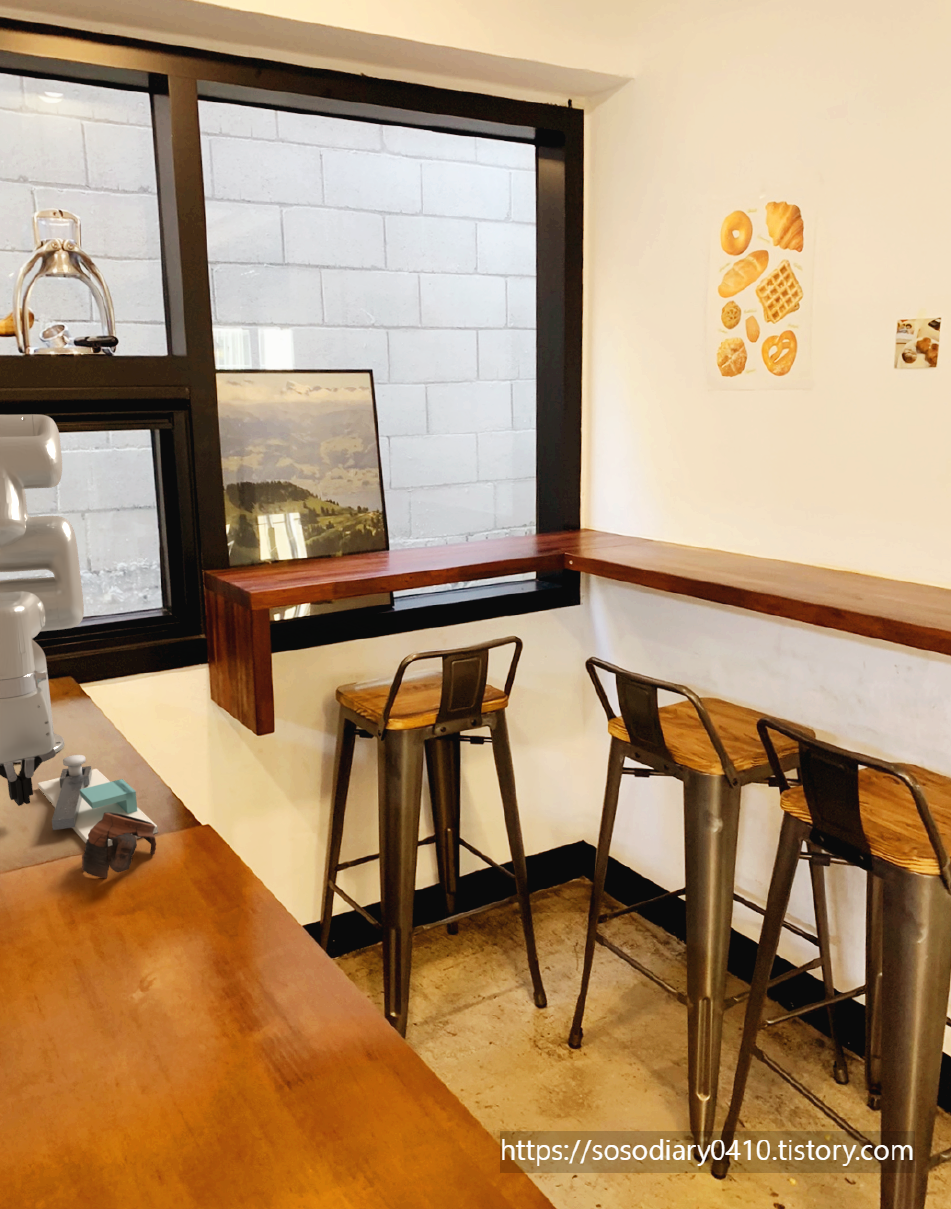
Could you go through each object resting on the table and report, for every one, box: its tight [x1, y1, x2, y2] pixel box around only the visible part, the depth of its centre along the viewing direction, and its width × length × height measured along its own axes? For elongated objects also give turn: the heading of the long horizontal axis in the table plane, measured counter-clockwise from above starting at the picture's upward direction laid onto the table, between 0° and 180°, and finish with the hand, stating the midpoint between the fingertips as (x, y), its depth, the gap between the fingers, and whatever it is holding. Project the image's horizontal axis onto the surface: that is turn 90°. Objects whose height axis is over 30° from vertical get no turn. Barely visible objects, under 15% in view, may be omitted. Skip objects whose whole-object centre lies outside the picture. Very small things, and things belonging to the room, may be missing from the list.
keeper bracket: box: [80, 778, 138, 814], centre depth 146 cm, size 6×6×3 cm
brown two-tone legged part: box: [81, 812, 157, 880], centre depth 131 cm, size 12×10×8 cm
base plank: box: [37, 754, 159, 846], centre depth 148 cm, size 28×10×5 cm, turn 39°
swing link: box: [51, 765, 93, 831], centre depth 149 cm, size 20×4×2 cm, turn 17°
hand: (22, 801), depth 144 cm, fingers closed
